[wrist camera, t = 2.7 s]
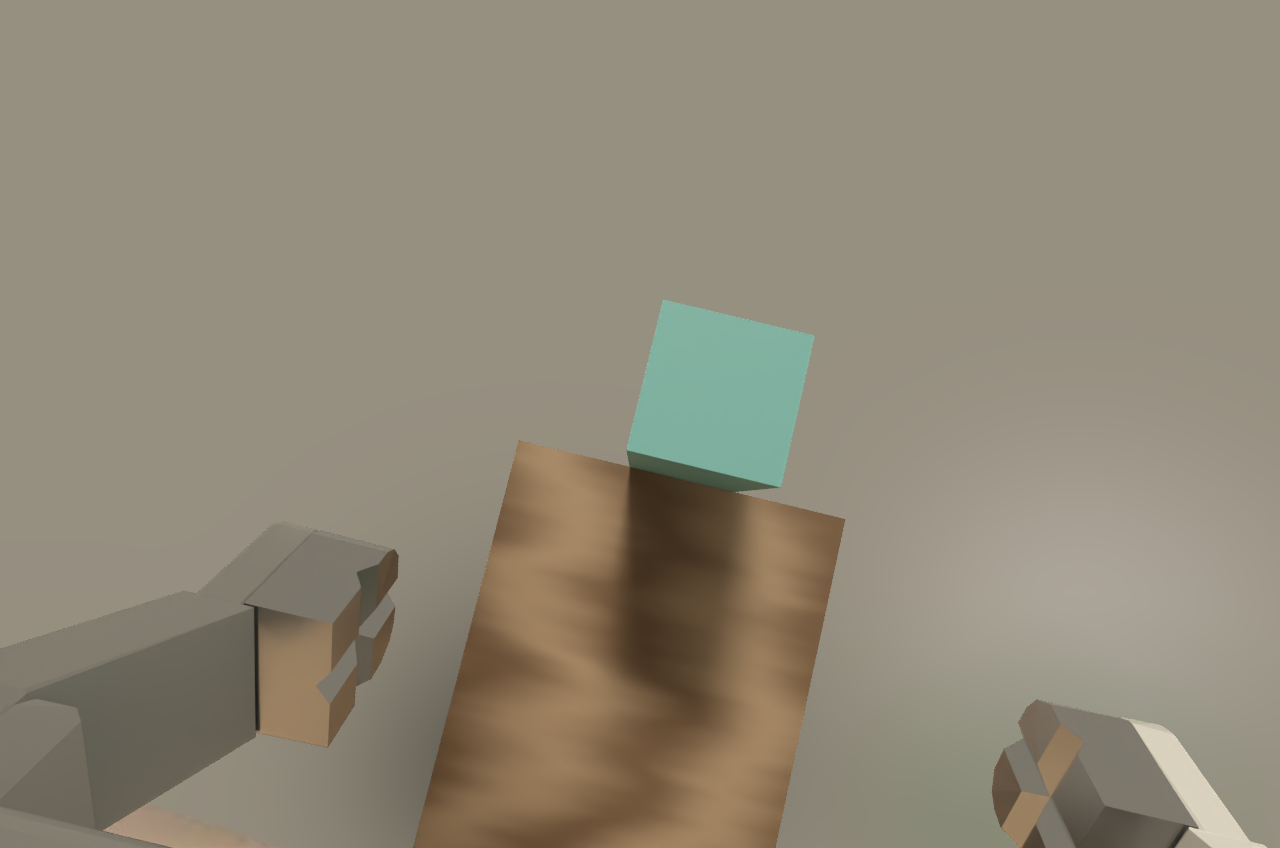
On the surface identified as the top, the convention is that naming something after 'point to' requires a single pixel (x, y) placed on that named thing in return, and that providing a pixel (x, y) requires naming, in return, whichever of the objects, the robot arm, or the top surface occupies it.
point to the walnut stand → (631, 664)
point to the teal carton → (719, 399)
